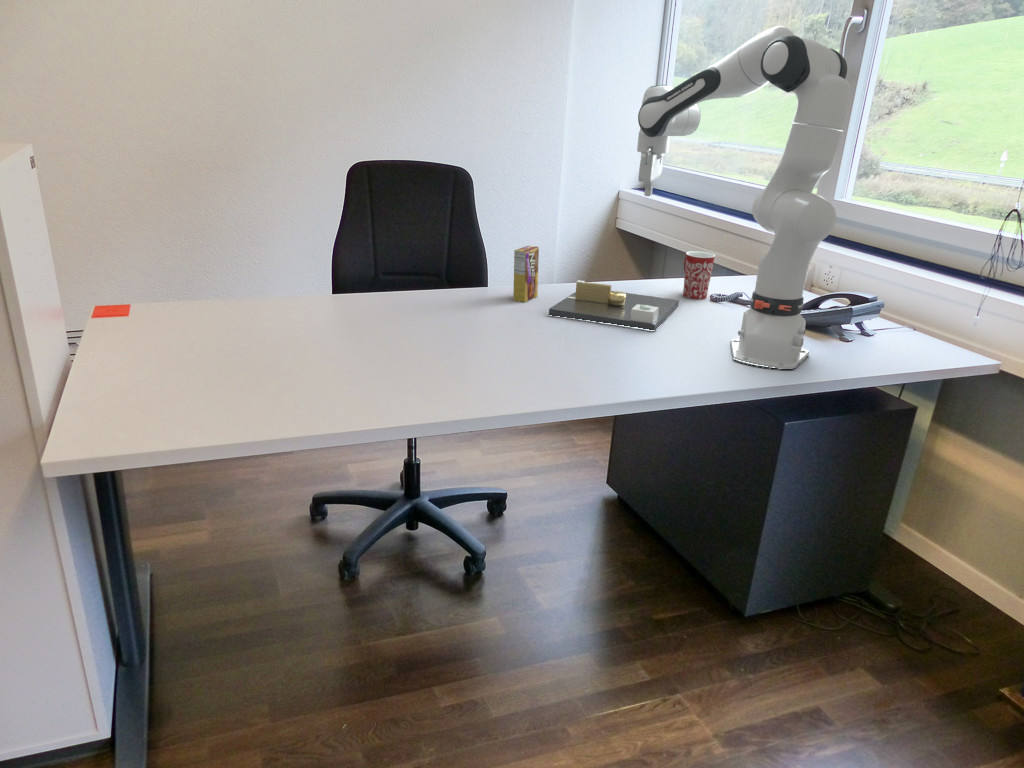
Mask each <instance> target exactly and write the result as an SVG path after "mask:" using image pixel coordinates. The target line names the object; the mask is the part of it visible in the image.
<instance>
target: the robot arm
mask: <svg viewBox="0 0 1024 768" xmlns="http://www.w3.org/2000/svg"><path fill="white" fill-rule="evenodd" d="M847 63H848V62H847V61H846V59H845V57H844V56H843V55H842V54H841V53H840V52H839V51H837V50H835V49H834V48H829V47H827V46H825V45H823V44H821V43H820V42H818V41H816V40H812V39H807V38H802V37H800V36H797V35H796V34H795V32H793V31H792V30H791V29H790V28H788V27H786V26H783V25H778V26H777V25H776V26H774V27H770V28H769V29H766V30H765V31H763V32H761V33H759V34H758V35H756V36H754V37H752V38H751V39H749V40H748V41H746V42H745V43H744V44H742V45H741V46H739V47H738V48H736V50H734V51H732V52H731V53H729V54H728V55H726V56H725V57H723V58H722V59H720V60H719V61H717V62H716V63H714V64H712V65H710V66H708V67H707V68H705V69H703V70H701V71H699V72H698V73H696V74H694V75H693V76H691V77H690V78H687V79H686V80H685V81H683V82H681V83H680V84H678V85H677V86H675V87H673V86H672V85H670V84H659V85H658V84H656V85H652V86H650V87H647V88H646V90H645V92H644V94H643V97H642V102H641V107H640V109H639V111H638V114H637V115H638V116H637V120H638V126H639V128H640V129H639V131H638V137H637V149H636V151H637V153H640V154H641V155H640V162H639V169H638V178H637V179H638V182H641V183H643V184H644V197H650V196H652V195H653V189H654V185H655V180H657V179H658V178H660V177H661V175H662V172H663V167H664V163H665V157H666V154H668V153H669V149H670V139H671V137H684V136H690V135H692V134H693V133H695V132H696V131H697V129H698V127H699V125H700V122H701V117H702V116H701V115H702V114H701V108H700V107H699V105H698V104H700V103H702V102H705V101H710V100H714V99H716V100H717V99H733V98H735V99H736V98H741V97H742V98H743V97H745V96H747V95H750V94H752V93H755V92H756V91H758V90H760V89H761V88H763V87H765V86H766V85H767V84H771V85H773V86H774V87H776V88H778V89H780V90H782V91H784V92H785V93H793V94H794V95H795V96H796V99H797V105H796V111H795V114H794V116H793V120H792V124H791V126H790V129H789V134H788V136H787V141H786V144H785V147H784V150H783V154H782V156H781V159H780V160H779V161H780V162H779V163H778V166H777V168H776V169H775V171H774V172H773V175H772V177H771V178H770V180H769V182H768V184H767V185H766V186H765V188H763V190H762V191H760V192H759V193H758V195H757V196H755V198H754V200H753V203H752V207H751V210H752V211H751V213H752V216H753V218H754V221H755V222H756V223H757V224H758V225H759V226H761V227H762V228H763V229H764V230H765V231H767V232H770V233H773V234H774V236H773V240H772V242H771V245H770V247H769V249H768V251H767V253H766V254H765V255H763V256H762V258H760V260H759V262H758V268H757V275H756V281H755V287H754V290H753V292H752V295H751V297H750V305H749V306H750V308H749V309H747V310H745V311H744V312H743V315H742V320H741V326H740V329H739V330H738V333H737V334H738V336H739V338H731V339H730V341H729V344H730V343H731V346H730V349H731V348H732V352H731V355H732V354H733V358H735V359H738V360H741V361H745V362H749V363H753V364H758V365H764V366H768V367H775V368H781V369H782V368H783V369H793V368H795V367H796V366H797V365H798V364H799V363H800V364H801V363H803V361H805V359H807V358H806V357H807V356H808V355H810V351H809V350H808V349H806V348H804V347H803V345H804V341H805V339H804V336H805V334H806V324H807V322H806V321H807V320H805V318H804V317H803V316H802V314H801V312H802V311H803V306H804V299H805V298H804V296H803V294H804V289H805V284H806V279H807V274H808V270H809V266H810V263H811V261H812V257H813V256H814V254H815V252H816V250H817V248H818V246H819V244H820V243H821V242H822V241H823V240H825V239H826V238H827V237H828V236H830V234H831V233H832V232H833V230H834V228H835V226H836V222H837V212H836V208H835V207H834V205H833V204H832V203H831V202H830V201H828V200H827V199H826V198H824V197H823V196H822V195H820V194H817V193H814V192H813V190H814V189H815V187H816V186H817V184H818V183H819V181H820V179H821V178H822V177H823V176H824V175H825V174H826V173H828V172H829V171H830V170H831V168H832V167H833V165H834V163H835V159H836V156H837V152H838V150H839V149H838V148H839V146H840V142H841V140H842V137H843V133H844V129H845V127H846V123H847V122H846V121H847V119H848V118H847V117H848V113H849V108H850V103H851V102H850V101H851V92H852V91H851V90H852V89H851V85H850V83H849V82H848V81H847V79H846V77H847V74H848V64H847ZM808 357H809V356H808ZM733 358H732V359H733ZM800 364H799V365H800ZM799 365H798V366H799ZM798 366H797V367H798ZM797 367H796V368H797ZM796 368H795V369H796ZM793 370H794V369H793Z"/></svg>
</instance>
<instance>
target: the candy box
mask: <svg viewBox="0 0 1024 768" xmlns="http://www.w3.org/2000/svg"><path fill="white" fill-rule="evenodd" d="M539 249H540V248H539V246H535V245H525V246H523V247H520V248H517V249H514V253H513V254H514V255H513V257H514V259H513V294H512V295H513V297H512V298H513V300H512V301H514V300H515V301H514V302H519V301H521V302H520V303H527V302H529V301H530V300H533V299H535V298H536V297H538V295H539V294H538V291H539V290H538V288H539V252H540V251H539Z"/></svg>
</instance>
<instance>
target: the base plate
mask: <svg viewBox="0 0 1024 768" xmlns="http://www.w3.org/2000/svg"><path fill="white" fill-rule="evenodd" d="M625 293H626V300H625V305H623V306H614V305H610V304H608V303H602V302H593V301H585V300H577V299H575V296H576V291H575V292H573V293H572V294H570V295H569V296H567V297H566V298H564V299H562V300H561V301H559V302H558V303H556V304H554V305H552V306H551V307H550V308H548V316H549V315H552V316H551V317H554V316H560V317H567V318H575V319H582V320H590V321H596V322H603V323H611V324H617V325H624V326H630V327H638V328H643V329H649V330H656V329H657V328H658V327H659V326H660V325H661V324H662V325H663V324H664V323H665V321H666V320H667V319H668V318H669V317H670V316H671V315H672V314H673V312H675V311H676V310H677V309H678V307H679V305H680V304H679V303H680V299H674V298H666V297H659V296H651V295H647V294H646V295H644V294H638V293H632V292H631V293H630V292H625ZM560 317H559V318H560ZM567 318H566V319H567ZM662 325H661V326H662ZM661 326H660V327H661ZM660 327H659V328H660ZM659 328H658V329H659ZM658 329H657V330H658ZM657 330H656V331H657Z"/></svg>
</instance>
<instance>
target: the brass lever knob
mask: <svg viewBox="0 0 1024 768" xmlns="http://www.w3.org/2000/svg"><path fill="white" fill-rule="evenodd" d="M575 292H576V296H575V299H577V300H585V301H593V302H602V303H608V304H610V305H614V306H623V305H625V300H626V293H627V292H623V291H617V290H612V285H611V284H604V283H596V282H586V281H585V280H577V281H576V283H575Z"/></svg>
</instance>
